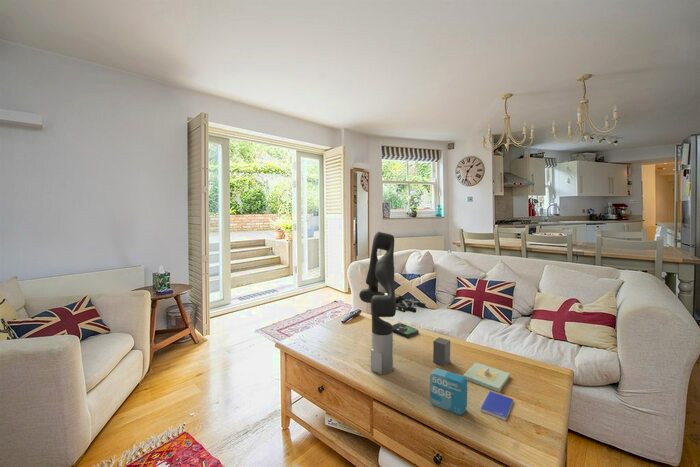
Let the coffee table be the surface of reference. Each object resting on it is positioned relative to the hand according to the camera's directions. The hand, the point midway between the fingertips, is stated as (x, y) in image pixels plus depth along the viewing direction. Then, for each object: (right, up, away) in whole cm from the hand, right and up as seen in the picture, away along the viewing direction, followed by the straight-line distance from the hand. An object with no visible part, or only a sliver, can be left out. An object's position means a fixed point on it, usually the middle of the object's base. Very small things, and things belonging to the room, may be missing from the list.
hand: (420, 308), depth 145 cm
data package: (+1, -26, -37) cm, 45 cm away
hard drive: (+19, -27, -37) cm, 49 cm away
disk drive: (-3, -21, +29) cm, 36 cm away
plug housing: (+8, -23, -6) cm, 26 cm away
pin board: (+23, -24, -19) cm, 39 cm away
